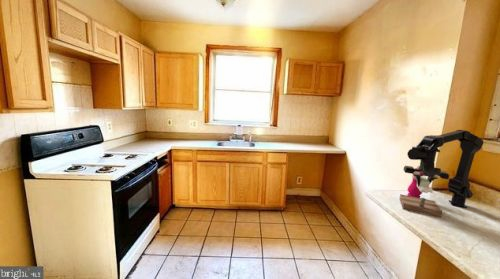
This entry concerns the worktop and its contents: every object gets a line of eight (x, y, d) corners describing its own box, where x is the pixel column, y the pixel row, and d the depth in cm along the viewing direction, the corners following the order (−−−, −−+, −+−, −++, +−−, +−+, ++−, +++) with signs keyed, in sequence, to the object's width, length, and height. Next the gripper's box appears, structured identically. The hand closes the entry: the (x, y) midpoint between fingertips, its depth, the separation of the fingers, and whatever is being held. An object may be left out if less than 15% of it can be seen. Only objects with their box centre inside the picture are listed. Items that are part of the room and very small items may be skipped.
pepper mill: (403, 195, 134) (408, 164, 130) (411, 194, 136) (417, 163, 133) (415, 200, 127) (421, 168, 124) (423, 199, 129) (430, 167, 126)
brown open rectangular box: (399, 199, 129) (401, 187, 127) (433, 205, 121) (436, 193, 120) (402, 209, 116) (405, 196, 115) (440, 217, 109) (443, 203, 108)
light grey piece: (415, 185, 124) (417, 175, 123) (424, 187, 122) (426, 176, 121) (420, 194, 111) (423, 183, 110) (431, 196, 109) (434, 185, 108)
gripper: (409, 160, 113) (404, 188, 115) (456, 166, 104) (449, 196, 107) (405, 155, 122) (401, 181, 125) (448, 161, 114) (442, 189, 117)
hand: (422, 187), depth 118 cm, fingers closed on light grey piece, 3 cm apart
